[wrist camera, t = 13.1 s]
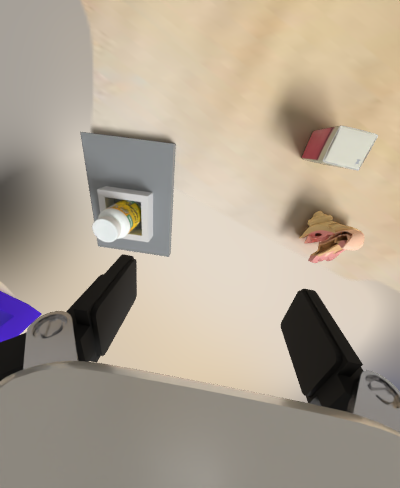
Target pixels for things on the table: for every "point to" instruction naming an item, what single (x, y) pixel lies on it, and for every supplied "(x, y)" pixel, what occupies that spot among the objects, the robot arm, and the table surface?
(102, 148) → the socket holder
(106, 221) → the supplement bottle
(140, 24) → the table surface
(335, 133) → the small box
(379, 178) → the table surface
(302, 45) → the table surface
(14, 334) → the bracket
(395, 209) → the table surface
